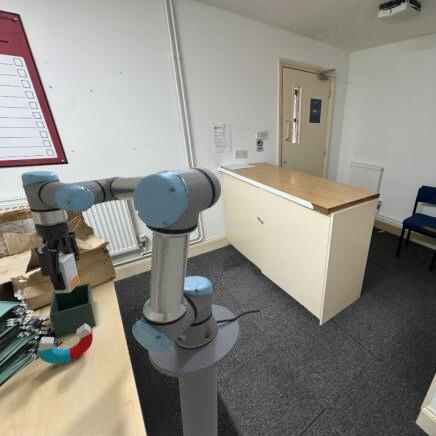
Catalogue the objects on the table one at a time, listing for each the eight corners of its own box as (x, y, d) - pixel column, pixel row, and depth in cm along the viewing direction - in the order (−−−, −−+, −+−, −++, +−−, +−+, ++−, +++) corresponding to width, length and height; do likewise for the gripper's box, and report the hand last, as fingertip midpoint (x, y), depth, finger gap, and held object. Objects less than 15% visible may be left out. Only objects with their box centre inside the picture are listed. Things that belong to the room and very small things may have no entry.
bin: (95, 325, 84) (90, 303, 81) (56, 338, 78) (49, 315, 75) (94, 303, 94) (89, 282, 91) (59, 313, 88) (52, 291, 84)
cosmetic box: (70, 292, 79) (62, 262, 75) (55, 293, 78) (46, 262, 74) (80, 282, 85) (73, 253, 81) (66, 282, 84) (58, 253, 80)
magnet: (43, 371, 68) (34, 345, 64) (45, 364, 70) (36, 338, 66) (96, 351, 75) (90, 327, 72) (95, 345, 77) (90, 321, 74)
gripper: (60, 211, 81) (73, 268, 89) (8, 233, 63) (31, 302, 71) (84, 212, 83) (96, 268, 90) (40, 234, 65) (59, 301, 73)
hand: (67, 283), depth 81 cm, fingers closed on cosmetic box, 6 cm apart
